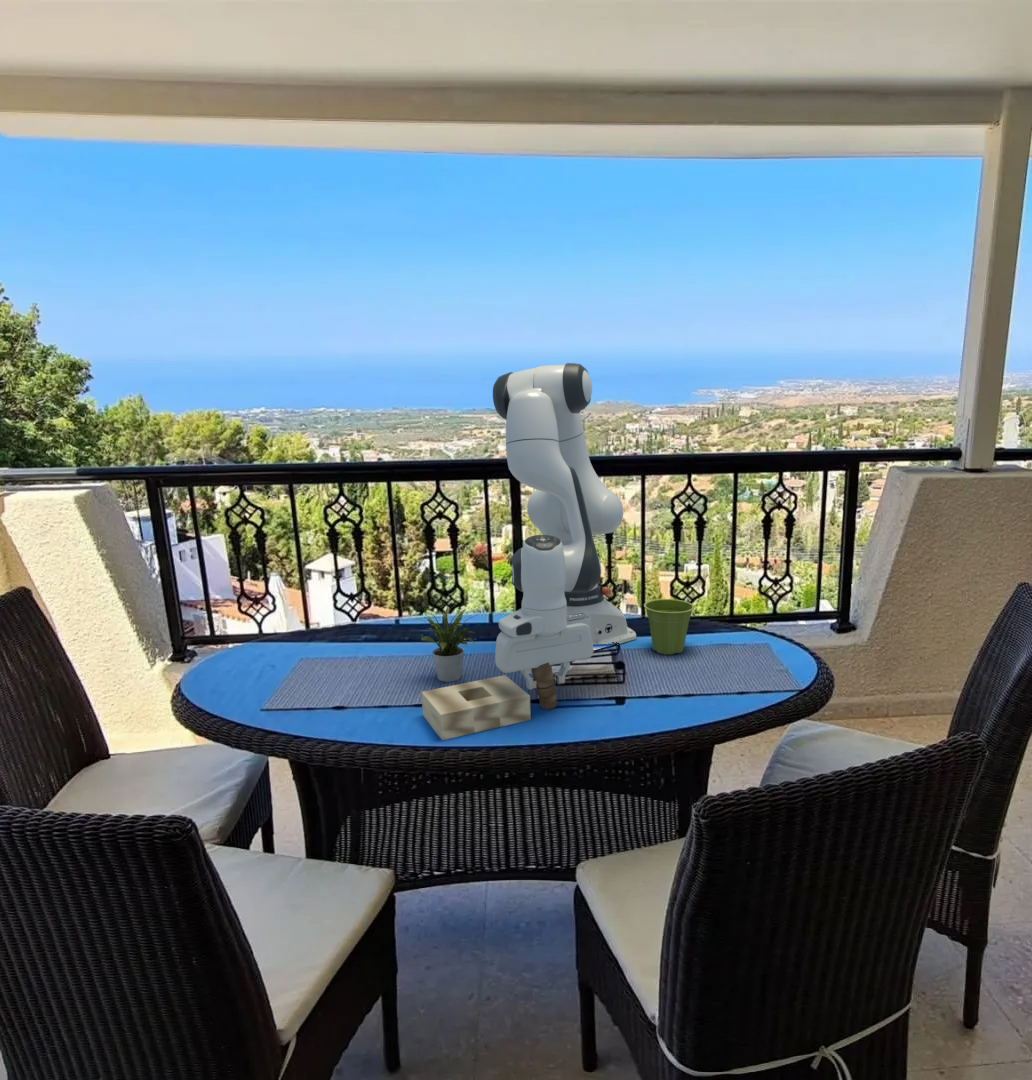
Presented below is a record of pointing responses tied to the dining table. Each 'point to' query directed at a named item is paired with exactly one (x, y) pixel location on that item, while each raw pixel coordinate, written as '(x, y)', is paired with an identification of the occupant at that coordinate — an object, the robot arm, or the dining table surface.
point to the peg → (545, 686)
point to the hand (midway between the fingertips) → (545, 685)
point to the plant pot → (668, 624)
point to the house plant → (448, 647)
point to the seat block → (475, 706)
